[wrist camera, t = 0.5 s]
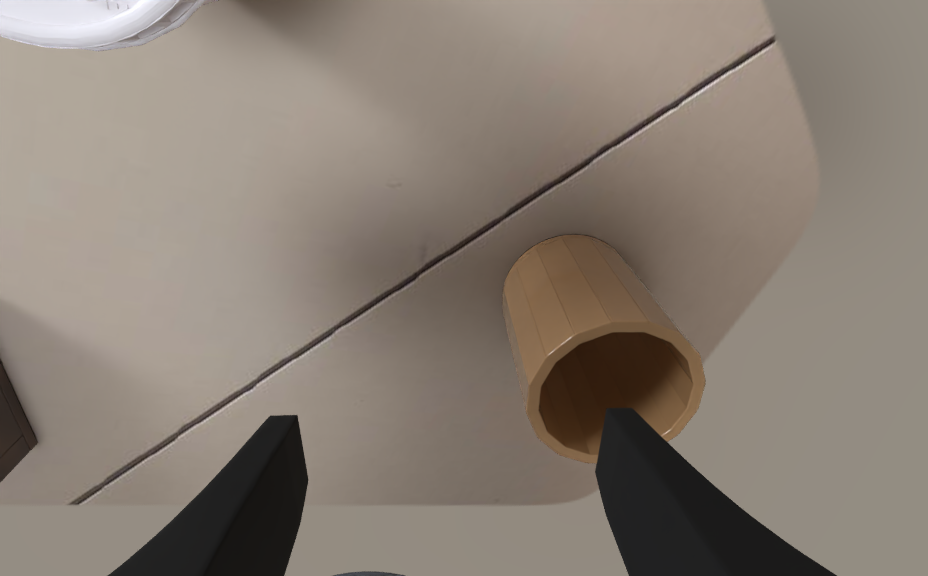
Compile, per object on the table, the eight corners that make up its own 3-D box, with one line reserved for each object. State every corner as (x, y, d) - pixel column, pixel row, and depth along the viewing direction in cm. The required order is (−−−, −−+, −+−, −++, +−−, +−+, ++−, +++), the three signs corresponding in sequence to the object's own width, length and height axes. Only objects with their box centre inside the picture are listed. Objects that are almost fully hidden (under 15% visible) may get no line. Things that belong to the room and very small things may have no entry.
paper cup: (619, 348, 24) (683, 462, 18) (498, 349, 24) (520, 465, 18) (640, 234, 22) (724, 320, 15) (505, 233, 21) (534, 322, 15)
